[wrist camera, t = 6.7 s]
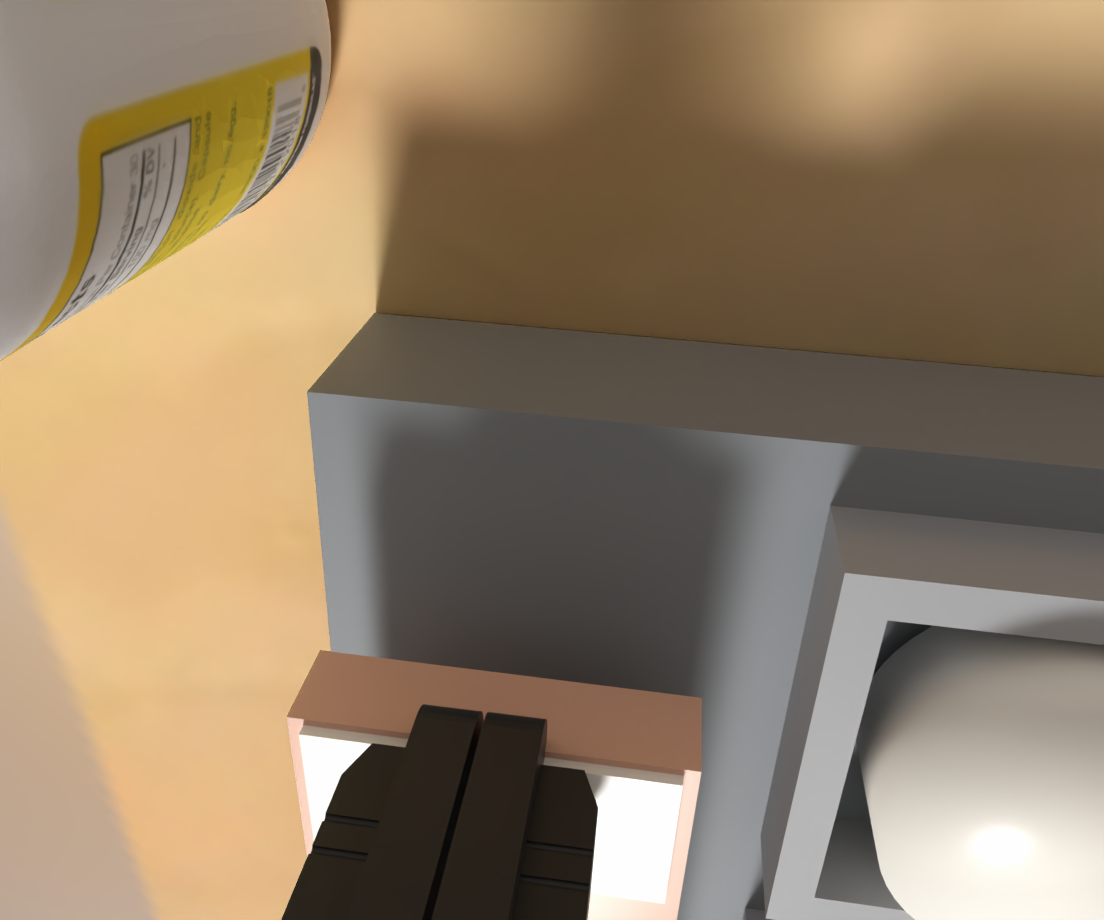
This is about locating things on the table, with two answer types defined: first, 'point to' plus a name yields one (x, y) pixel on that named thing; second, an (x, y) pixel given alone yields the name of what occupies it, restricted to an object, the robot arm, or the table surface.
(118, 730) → the table surface
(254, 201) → the supplement bottle
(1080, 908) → the white button
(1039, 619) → the panel
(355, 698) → the rocker
